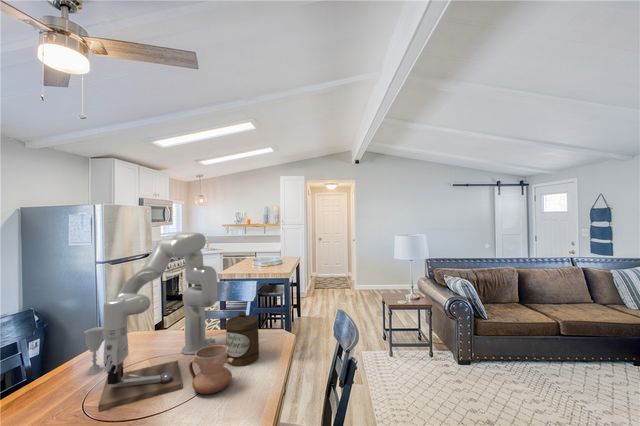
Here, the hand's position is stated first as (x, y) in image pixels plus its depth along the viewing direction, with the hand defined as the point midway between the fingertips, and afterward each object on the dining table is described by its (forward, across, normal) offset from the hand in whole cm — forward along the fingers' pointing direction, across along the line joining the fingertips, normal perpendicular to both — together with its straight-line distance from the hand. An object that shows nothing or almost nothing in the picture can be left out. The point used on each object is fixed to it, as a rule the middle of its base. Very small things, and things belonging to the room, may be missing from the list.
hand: (115, 379), depth 111 cm
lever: (+2, 0, -9) cm, 9 cm away
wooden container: (+5, +16, -46) cm, 49 cm away
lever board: (+5, +3, -8) cm, 10 cm away
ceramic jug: (+5, -5, -35) cm, 36 cm away
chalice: (+5, +20, +17) cm, 27 cm away
